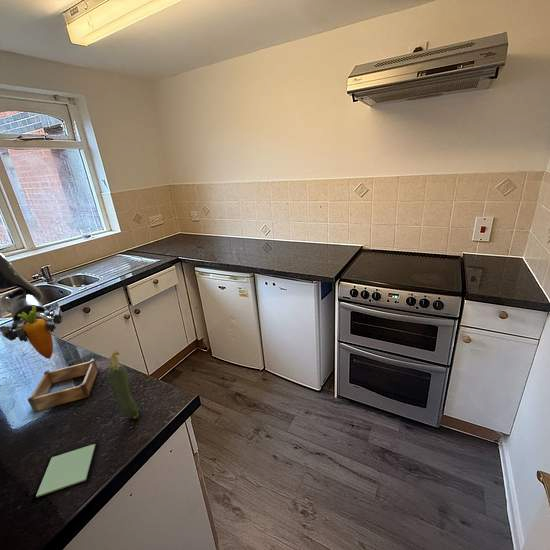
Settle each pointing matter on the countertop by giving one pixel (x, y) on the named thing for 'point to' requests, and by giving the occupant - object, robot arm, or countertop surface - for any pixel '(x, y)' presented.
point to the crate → (45, 400)
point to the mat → (66, 470)
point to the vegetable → (121, 387)
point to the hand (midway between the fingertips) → (38, 333)
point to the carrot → (38, 333)
